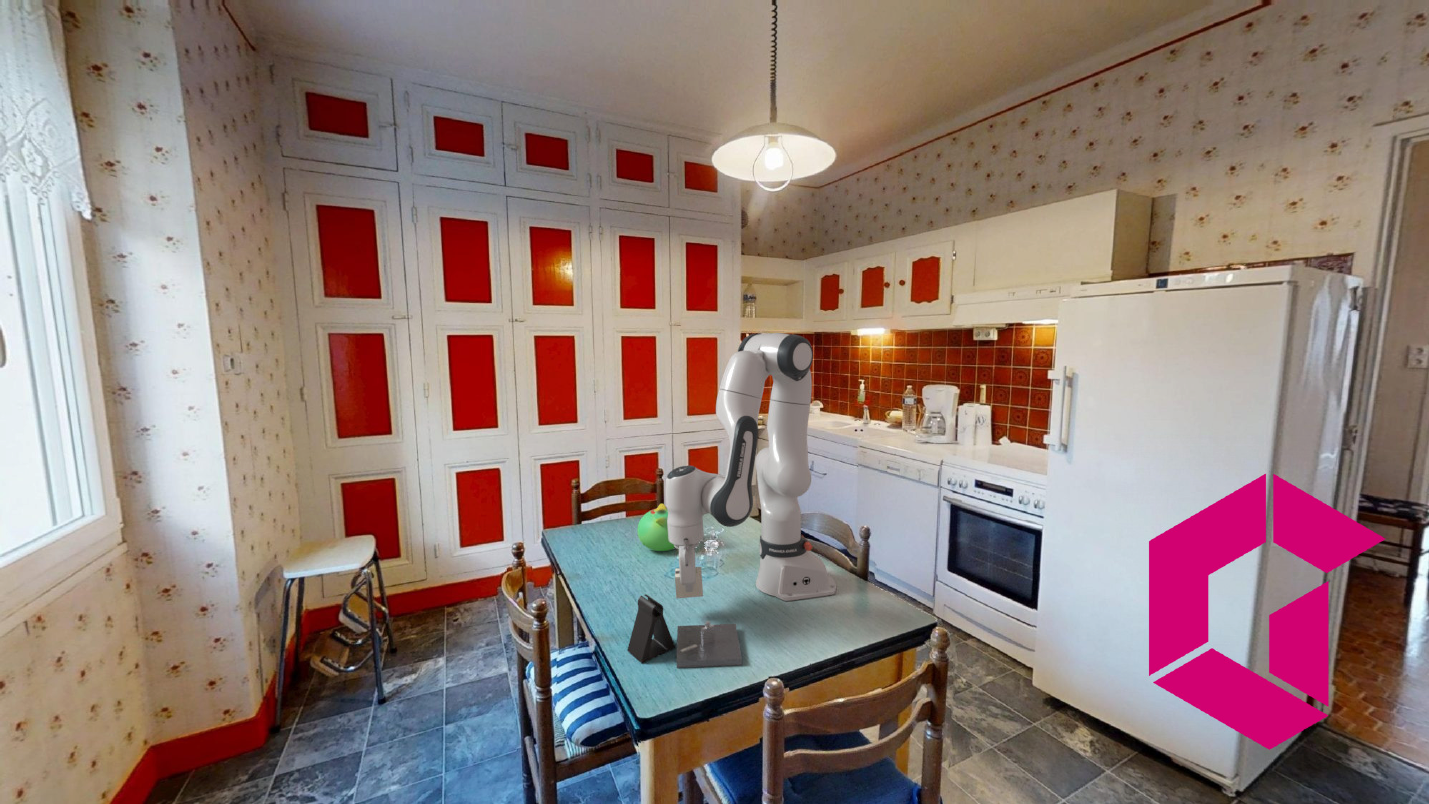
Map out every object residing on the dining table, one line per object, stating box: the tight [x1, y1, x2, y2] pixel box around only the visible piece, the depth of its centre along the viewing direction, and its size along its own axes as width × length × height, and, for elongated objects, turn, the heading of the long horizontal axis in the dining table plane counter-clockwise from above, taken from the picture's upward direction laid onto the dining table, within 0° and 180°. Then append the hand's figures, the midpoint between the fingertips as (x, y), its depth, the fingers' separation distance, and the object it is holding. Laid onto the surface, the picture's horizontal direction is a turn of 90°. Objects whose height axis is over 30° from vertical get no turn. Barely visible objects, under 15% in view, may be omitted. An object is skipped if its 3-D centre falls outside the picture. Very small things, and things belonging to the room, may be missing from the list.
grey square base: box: [676, 620, 743, 669], centre depth 118 cm, size 14×14×6 cm
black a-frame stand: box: [626, 593, 676, 664], centre depth 117 cm, size 9×6×12 cm, turn 129°
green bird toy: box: [637, 503, 676, 552], centre depth 174 cm, size 18×17×15 cm
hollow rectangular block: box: [674, 566, 704, 599], centre depth 130 cm, size 7×5×6 cm
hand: (689, 584), depth 130 cm, fingers closed on hollow rectangular block, 5 cm apart
